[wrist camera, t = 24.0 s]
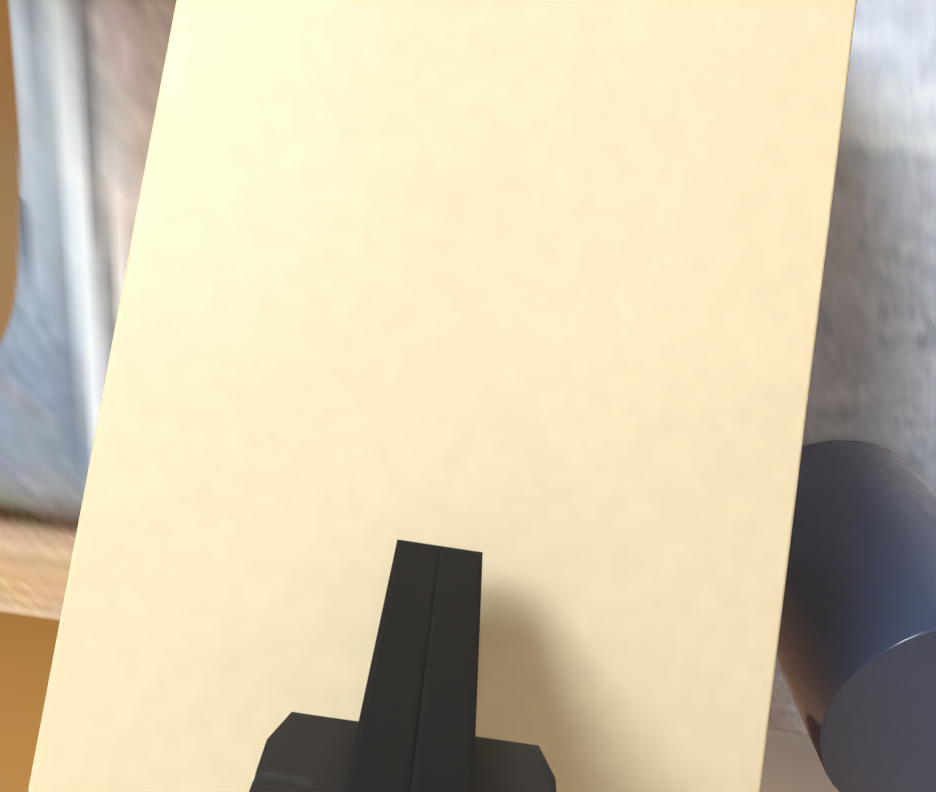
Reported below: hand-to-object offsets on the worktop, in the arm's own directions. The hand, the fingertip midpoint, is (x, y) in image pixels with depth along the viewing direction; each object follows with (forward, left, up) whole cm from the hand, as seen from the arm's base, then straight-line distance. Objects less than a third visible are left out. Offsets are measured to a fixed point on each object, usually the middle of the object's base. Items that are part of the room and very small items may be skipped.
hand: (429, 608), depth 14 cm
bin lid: (+4, 0, -4) cm, 5 cm away
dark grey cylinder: (-6, -15, -15) cm, 22 cm away
